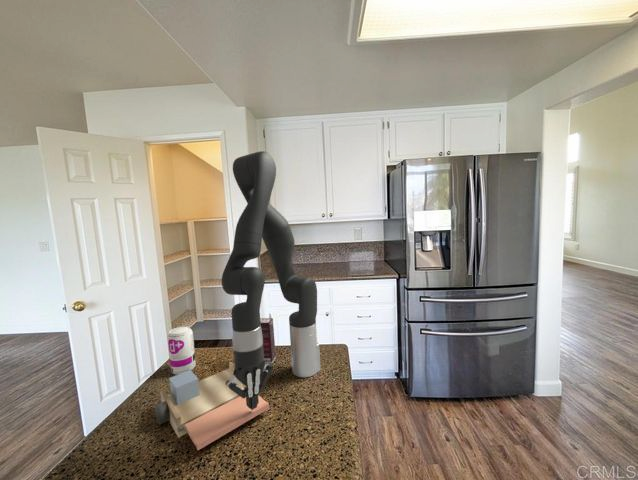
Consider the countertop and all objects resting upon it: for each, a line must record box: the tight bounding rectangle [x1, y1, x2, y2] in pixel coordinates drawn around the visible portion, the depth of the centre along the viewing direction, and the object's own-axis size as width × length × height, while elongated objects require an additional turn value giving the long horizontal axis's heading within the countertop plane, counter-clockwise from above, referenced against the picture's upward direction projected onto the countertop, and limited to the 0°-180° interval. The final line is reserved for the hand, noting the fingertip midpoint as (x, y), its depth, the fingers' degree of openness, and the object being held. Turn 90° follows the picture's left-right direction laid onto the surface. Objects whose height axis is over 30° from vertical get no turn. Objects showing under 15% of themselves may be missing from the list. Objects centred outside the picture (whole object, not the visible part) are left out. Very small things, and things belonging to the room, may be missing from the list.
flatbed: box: [154, 361, 244, 438], centre depth 81 cm, size 27×18×5 cm, turn 133°
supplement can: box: [167, 325, 197, 376], centre depth 100 cm, size 8×8×15 cm
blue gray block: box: [168, 370, 200, 405], centre depth 81 cm, size 6×7×5 cm
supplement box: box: [260, 317, 277, 365], centre depth 104 cm, size 9×5×16 cm, turn 82°
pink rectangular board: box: [185, 394, 270, 451], centre depth 72 cm, size 19×1×9 cm
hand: (252, 407), depth 72 cm, fingers closed
